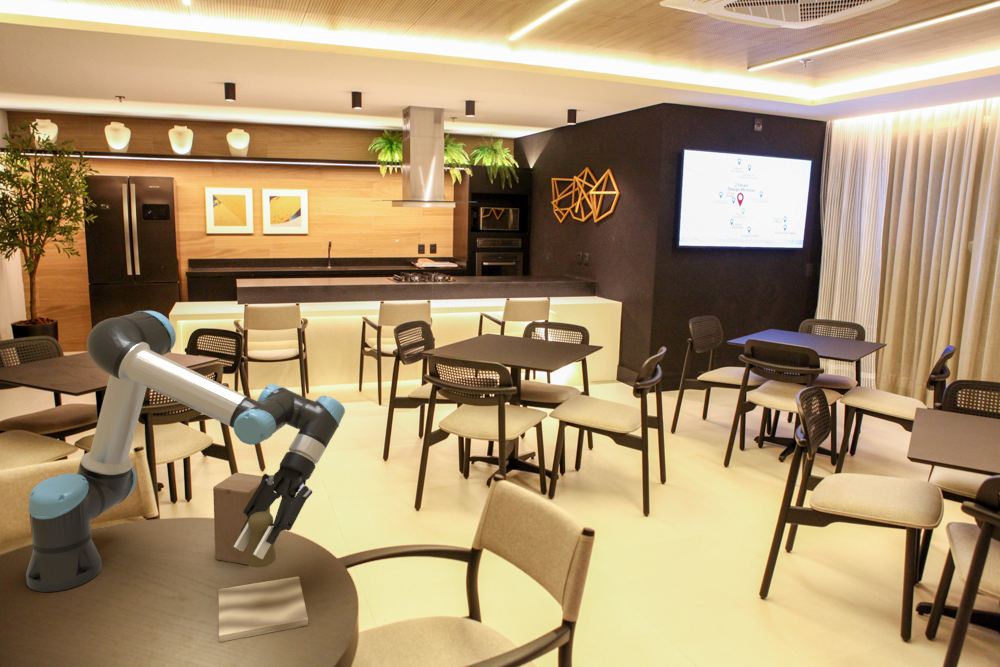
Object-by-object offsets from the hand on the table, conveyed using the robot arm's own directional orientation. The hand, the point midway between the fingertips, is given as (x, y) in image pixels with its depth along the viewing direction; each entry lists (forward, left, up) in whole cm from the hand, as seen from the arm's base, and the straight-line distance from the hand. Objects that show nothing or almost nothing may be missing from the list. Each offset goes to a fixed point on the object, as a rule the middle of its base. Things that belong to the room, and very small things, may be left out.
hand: (248, 552), depth 144 cm
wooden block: (-29, 0, -16) cm, 33 cm away
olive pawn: (-2, +3, -4) cm, 5 cm away
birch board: (-2, +3, -16) cm, 16 cm away
